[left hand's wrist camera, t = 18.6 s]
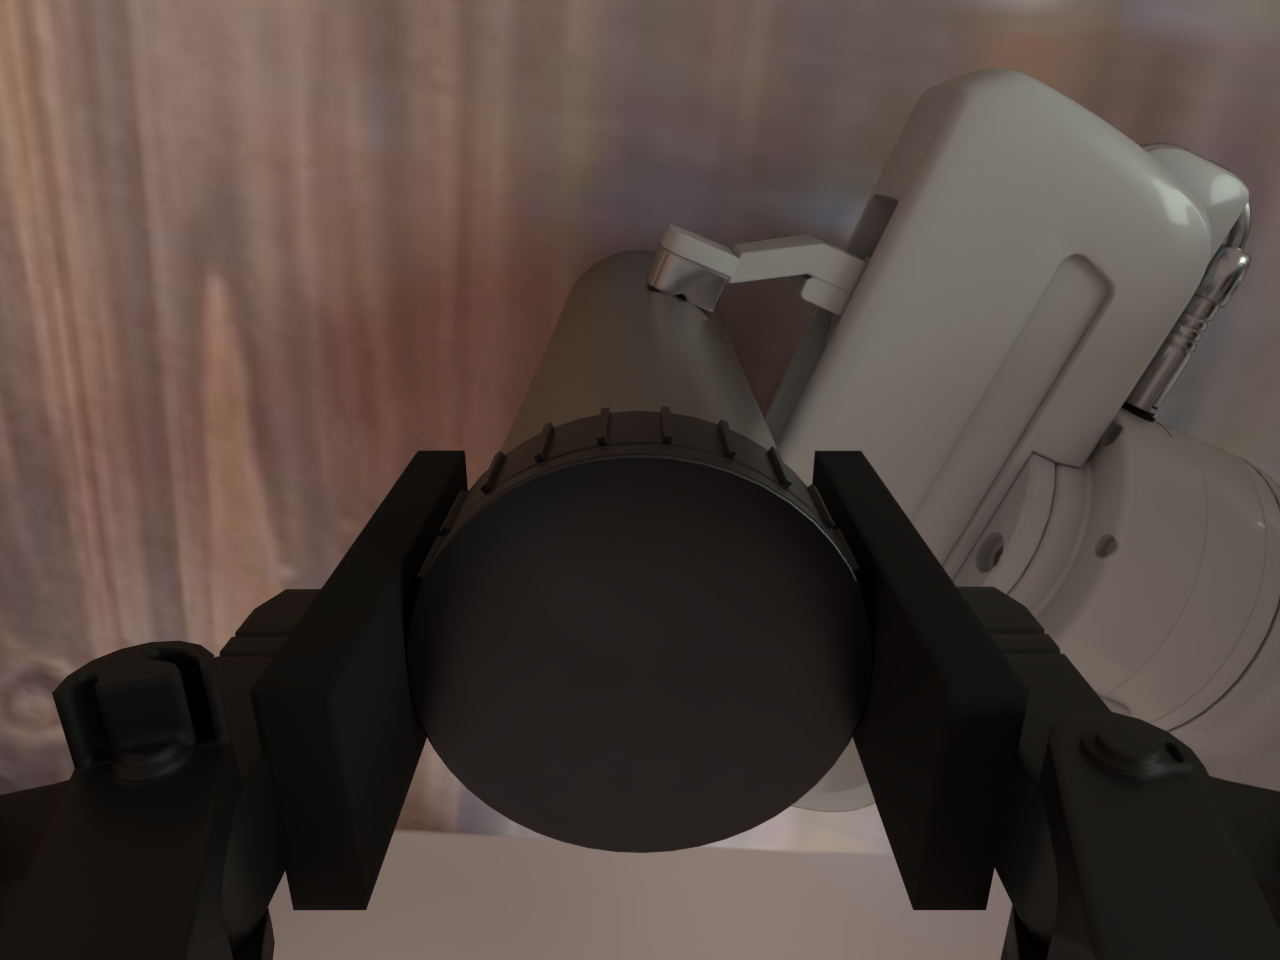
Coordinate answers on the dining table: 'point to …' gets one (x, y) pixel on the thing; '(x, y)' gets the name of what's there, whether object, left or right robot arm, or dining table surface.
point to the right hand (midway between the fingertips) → (607, 372)
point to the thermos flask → (636, 358)
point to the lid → (639, 634)
